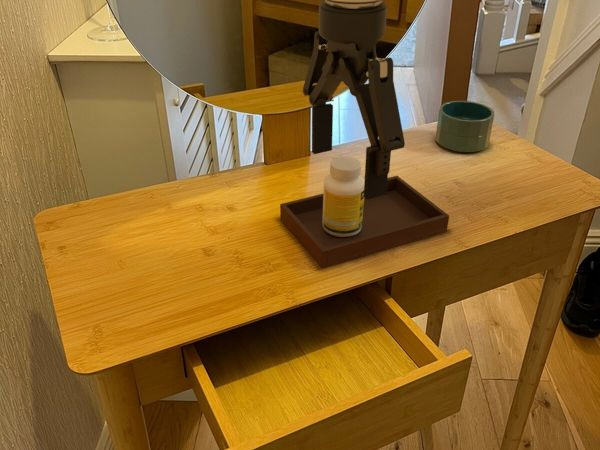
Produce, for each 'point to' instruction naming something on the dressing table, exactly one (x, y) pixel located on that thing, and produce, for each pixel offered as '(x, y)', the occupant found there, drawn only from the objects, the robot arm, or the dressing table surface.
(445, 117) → the cup
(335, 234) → the supplement bottle
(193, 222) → the dressing table surface
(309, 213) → the tray
